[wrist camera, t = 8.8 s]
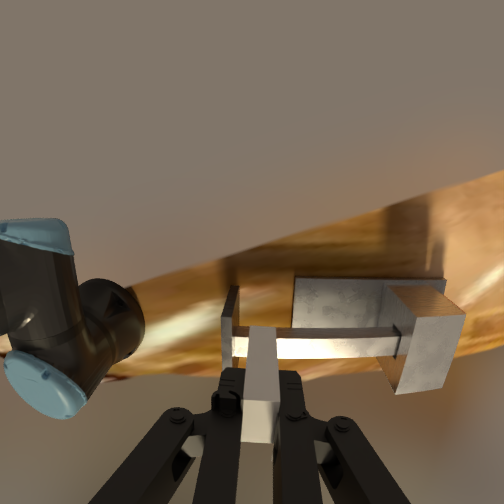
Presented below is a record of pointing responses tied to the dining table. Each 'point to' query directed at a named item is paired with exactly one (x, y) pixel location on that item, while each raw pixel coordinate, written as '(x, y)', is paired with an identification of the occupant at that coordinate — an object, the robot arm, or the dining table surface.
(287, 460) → the robot arm
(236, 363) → the grey crossbar bracket
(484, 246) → the dining table surface
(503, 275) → the dining table surface
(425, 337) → the block
